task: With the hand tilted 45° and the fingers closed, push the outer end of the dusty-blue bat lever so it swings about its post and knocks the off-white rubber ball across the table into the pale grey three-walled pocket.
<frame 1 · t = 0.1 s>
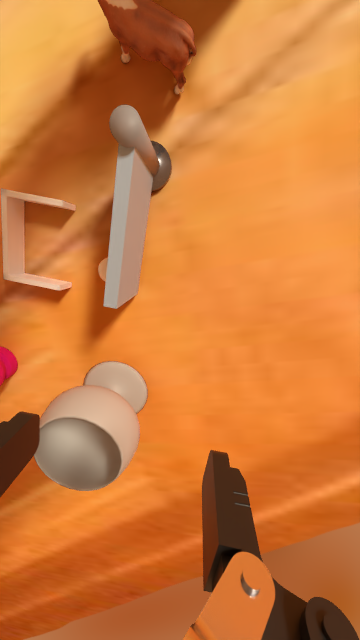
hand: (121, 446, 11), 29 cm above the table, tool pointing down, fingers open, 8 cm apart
pepper mill: (2, 361, 45), on the table
chalice 2: (116, 389, 44), on the table
ball: (116, 269, 38), on the table
lever base: (150, 168, 33), on the table
pocket: (48, 243, 38), on the table
bull figurine: (149, 60, 30), on the table
paddle: (130, 224, 30), point 7 cm above the table, hinge at 0.0°
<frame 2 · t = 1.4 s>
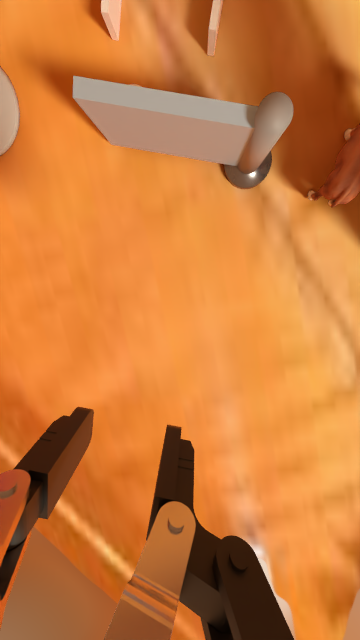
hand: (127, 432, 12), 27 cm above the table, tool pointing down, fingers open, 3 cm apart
lever base: (246, 163, 32), on the table
pocket: (167, 3, 28), on the table
bull figurine: (341, 162, 31), on the table
paddle: (182, 129, 25), point 7 cm above the table, hinge at 0.0°
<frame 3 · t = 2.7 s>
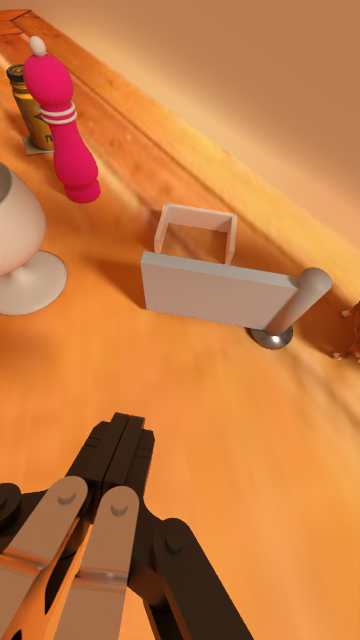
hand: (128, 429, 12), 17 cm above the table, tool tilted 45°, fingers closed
pepper mill: (84, 193, 46), on the table
chalice 2: (27, 282, 36), on the table
lever base: (269, 330, 34), on the table
pocket: (195, 243, 41), on the table
bull figurine: (348, 332, 35), on the table
paddle: (223, 295, 29), point 7 cm above the table, hinge at 0.0°
condiment: (45, 145, 53), on the table
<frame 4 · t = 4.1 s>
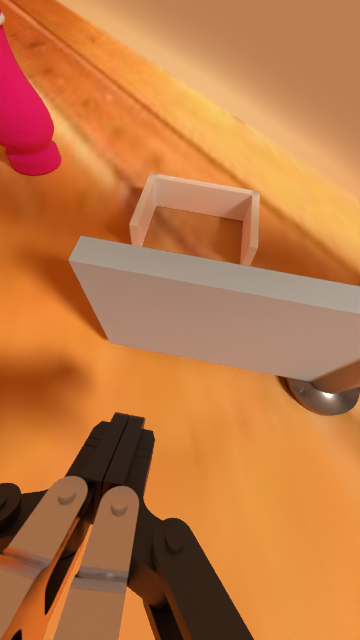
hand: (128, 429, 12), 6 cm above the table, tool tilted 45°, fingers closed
pepper mill: (38, 163, 32), on the table
lever base: (317, 378, 21), on the table
pocket: (194, 235, 28), on the table
paddle: (248, 327, 15), point 7 cm above the table, hinge at 0.0°
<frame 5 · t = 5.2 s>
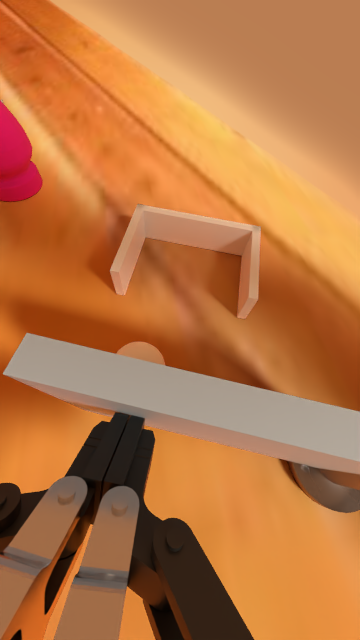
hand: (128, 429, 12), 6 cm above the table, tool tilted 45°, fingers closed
pepper mill: (16, 187, 29), on the table
ball: (140, 375, 19), on the table, touching paddle
lever base: (326, 458, 18), on the table
pocket: (187, 274, 25), on the table
paddle: (244, 426, 12), point 7 cm above the table, hinge at -2.0°, touching ball, gripper
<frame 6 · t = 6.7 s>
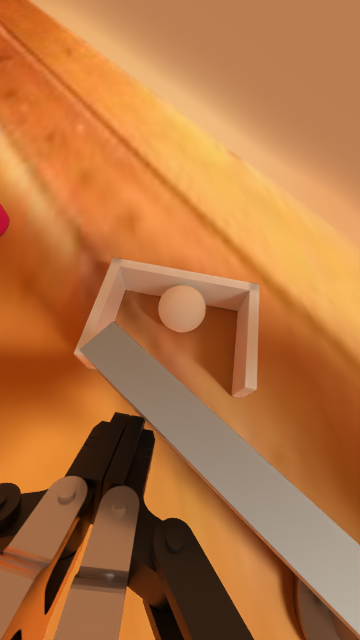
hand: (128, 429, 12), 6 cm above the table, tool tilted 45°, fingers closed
ball: (180, 325, 21), on the table, tilted 20°
lever base: (343, 602, 14), on the table
pocket: (173, 338, 21), on the table
paddle: (270, 518, 10), point 7 cm above the table, hinge at -31.4°, touching gripper
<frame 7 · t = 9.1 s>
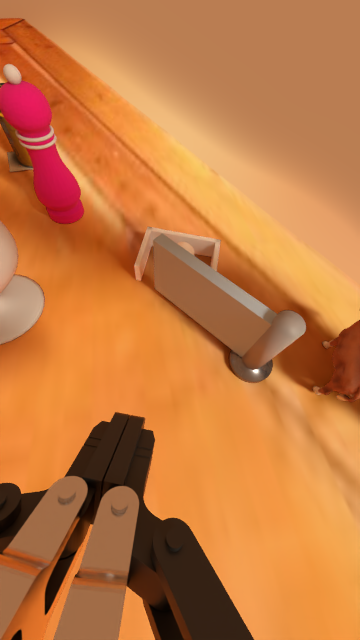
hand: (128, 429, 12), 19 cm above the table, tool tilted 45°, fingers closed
pepper mill: (67, 213, 45), on the table
chalice 2: (2, 309, 35), on the table
ball: (181, 263, 42), on the table, tilted 7°
lever base: (249, 361, 34), on the table
pocket: (177, 268, 41), on the table
bull figurine: (329, 364, 35), on the table
paddle: (213, 303, 30), point 7 cm above the table, hinge at -31.5°
condiment: (30, 161, 52), on the table
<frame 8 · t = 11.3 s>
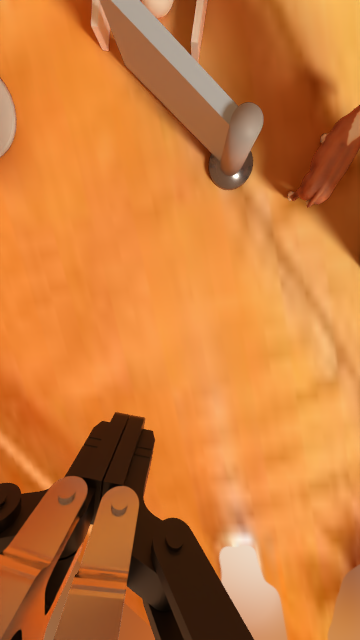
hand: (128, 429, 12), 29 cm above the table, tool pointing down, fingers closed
ball: (158, 4, 29), on the table, tilted 8°
lever base: (230, 166, 33), on the table
pocket: (154, 17, 30), on the table
bull figurine: (318, 165, 33), on the table
paddle: (183, 90, 26), point 7 cm above the table, hinge at -31.5°
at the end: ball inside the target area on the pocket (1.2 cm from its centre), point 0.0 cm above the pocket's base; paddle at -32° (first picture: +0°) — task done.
